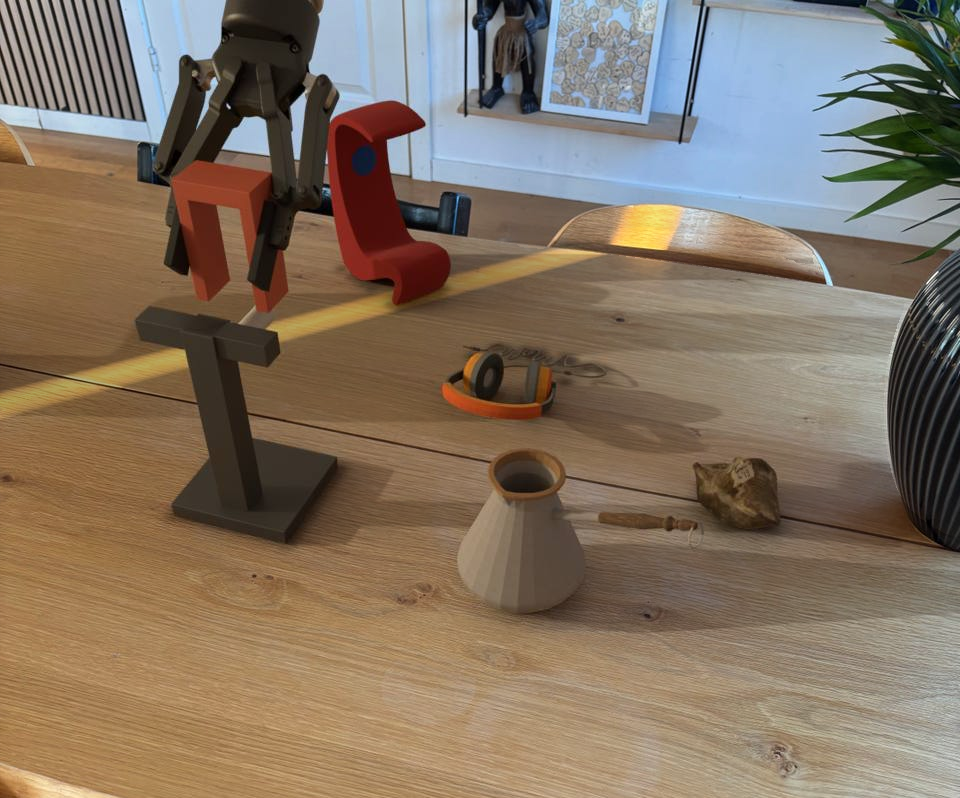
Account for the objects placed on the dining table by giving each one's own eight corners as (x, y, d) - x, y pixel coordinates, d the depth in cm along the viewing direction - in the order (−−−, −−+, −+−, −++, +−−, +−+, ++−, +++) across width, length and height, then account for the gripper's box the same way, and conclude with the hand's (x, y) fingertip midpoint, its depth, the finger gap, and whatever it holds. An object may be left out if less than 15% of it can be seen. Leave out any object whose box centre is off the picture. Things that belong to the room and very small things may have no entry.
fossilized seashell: (669, 468, 100) (713, 546, 95) (716, 420, 96) (764, 499, 91) (717, 482, 105) (761, 557, 100) (764, 437, 101) (812, 513, 96)
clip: (196, 299, 89) (170, 179, 81) (218, 278, 92) (195, 159, 84) (268, 313, 88) (249, 193, 80) (288, 291, 90) (272, 172, 83)
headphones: (616, 343, 114) (565, 403, 99) (608, 388, 117) (557, 453, 102) (477, 313, 118) (407, 366, 103) (473, 357, 121) (405, 415, 106)
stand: (173, 516, 98) (122, 330, 83) (235, 441, 106) (198, 259, 91) (286, 544, 95) (254, 358, 81) (340, 465, 103) (320, 283, 88)
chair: (336, 265, 131) (320, 100, 116) (382, 248, 134) (373, 85, 119) (404, 313, 123) (397, 143, 108) (452, 294, 126) (451, 126, 111)
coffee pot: (431, 593, 91) (427, 460, 80) (503, 524, 98) (508, 392, 87) (639, 702, 83) (667, 571, 72) (702, 619, 90) (737, 486, 79)
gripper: (402, 39, 85) (341, 312, 87) (190, 11, 89) (136, 272, 91) (374, -16, 77) (307, 284, 79) (144, -43, 82) (86, 242, 83)
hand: (216, 277), depth 85 cm, fingers closed on clip, 7 cm apart
